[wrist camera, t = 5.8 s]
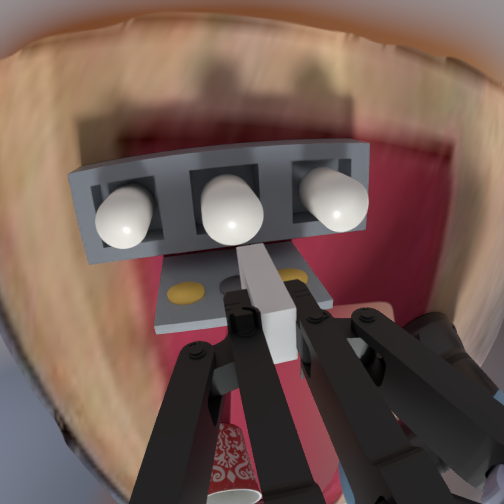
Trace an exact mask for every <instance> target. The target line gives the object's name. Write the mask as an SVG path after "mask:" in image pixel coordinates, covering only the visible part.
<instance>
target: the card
mask: <svg viewBox="0 0 504 504" xmlns="http://www.w3.org/2000/svg"><path fill="white" fill-rule="evenodd" d="M264 246H265V248H266V250H267V252H268V254H269V256H270V258H271V260H272V262H273V264H274V266H275V267H276V269H277V271H278V273H279V275H280V277H281V279H282V281H289V280H294V279H299V280H300V281H302V282H304V283H305V284H306V286H307V287H308V289H309V291H310V292H311V294H312V295H313V297H314V299H315V300H316V302H317V303H318V305H319V307H320V308H321V309H323V310H325V309H330V308H332V307H333V299H332V297H331V296H330V295H329V293H328V292H327V290H326V289H325V288H324V286H323V285H322V283H321V282H320V280H319V279H318V278H317V276H316V275H315V273H314V272H313V271H312V269H311V268H310V266H309V265H308V264H307V262H306V261H305V260H304V258H303V257H302V255H301V254H300V253H299V251H298V250H297V248H296V247H295V246H294V244H293V243H292V242H291V241H289V242H281V243H273V244H265V245H264ZM236 290H242V287H241V279H240V272H239V265H238V257H237V250H236V248H233V249H225V250H217V251H210V252H202V253H194V254H186V255H178V256H171V257H164V258H163V264H162V271H161V277H160V284H159V291H158V299H157V306H156V314H155V323H154V327H155V331H156V334H164V333H173V332H181V331H190V330H198V329H206V328H213V327H221V326H227V320H226V313H225V308H224V302H223V298H224V296H225V294H226V292H230V291H236Z"/></svg>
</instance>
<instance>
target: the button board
mask: <svg viewBox="0 0 504 504" xmlns="http://www.w3.org/2000/svg"><path fill="white" fill-rule="evenodd" d="M369 155H370V143H367V142H363V141H359V140H355V139H298V140H277V141H260V142H247V143H235V144H224V145H214V146H204V147H195V148H187V149H179V150H172V151H165V152H158V153H151V154H145V155H138V156H132V157H126V158H121V159H115V160H110V161H105V162H99V163H94V164H90V165H85V166H81V167H79V168H77V169H76V170H74V171H72V172H70V173H69V174H68V178H69V183H70V189H71V194H72V198H73V203H74V208H75V212H76V217H77V221H78V225H79V230H80V234H81V238H82V241H83V245H84V249H85V253H86V256H87V260H88V263H89V265H91V264H98V263H106V262H113V261H121V260H128V259H136V258H143V257H151V256H158V255H166V254H174V253H181V252H189V251H197V250H205V249H213V248H221V247H228V246H236V245H224V244H221V243H219V242H217V241H215V240H214V239H212V238H211V237H210V236H209V235H208V233H207V232H206V230H205V228H204V225H203V221H202V211H201V200H200V199H201V193H202V190H203V188H204V186H205V185H206V183H207V182H208V181H209V180H211V179H212V178H214V177H216V176H218V175H222V174H232V175H236V176H238V177H240V178H242V179H243V180H244V181H245V182H246V183H247V184H248V185H249V187H250V188H251V190H252V191H253V192H254V194H255V195H256V196H257V198H258V199H259V201H260V202H261V205H262V208H263V213H264V214H263V222H262V225H261V228H260V229H259V231H258V232H257V234H256V235H255V236H254V237H253V238H251V239H250V240H249V241H247V242H245V243H242V244H239V245H244V244H252V243H260V242H268V241H276V240H284V239H293V238H301V237H309V236H317V235H326V234H334V233H342V232H336V231H332V230H330V229H328V228H327V227H326V226H325V225H324V224H323V223H321V222H320V221H319V220H318V219H317V218H316V217H315V216H314V215H313V214H312V213H311V212H310V211H308V210H307V209H306V208H305V207H304V206H303V204H302V203H301V200H300V197H299V186H300V183H301V180H302V179H303V177H304V176H305V174H306V173H308V172H309V171H310V170H312V169H314V168H316V167H322V166H324V167H329V168H332V169H334V170H336V171H338V172H340V173H342V174H345V175H347V176H349V177H351V178H353V179H355V180H357V181H358V182H360V183H361V184H362V185H363V186H364V187H365V189H366V191H367V194H368V185H369ZM127 182H135V183H139V184H141V185H143V186H145V187H146V188H147V189H148V190H149V191H150V192H151V194H152V196H153V198H154V202H155V209H154V213H153V216H152V219H151V222H150V225H149V228H148V231H147V233H146V236H145V237H144V239H143V240H142V241H141V242H140V243H139V244H137V245H136V246H134V247H131V248H127V249H119V248H115V247H112V246H110V245H108V244H107V243H106V242H104V241H103V240H102V238H101V237H100V236H99V234H98V232H97V229H96V224H95V218H96V213H97V210H98V208H99V207H100V205H101V204H102V203H103V202H104V201H105V200H106V199H107V197H108V196H109V195H110V194H111V193H112V192H113V191H114V190H115V189H116V188H117V187H118V186H120V185H121V184H124V183H127ZM366 219H367V213H366V215H365V217H364V219H363V220H362V221H361V223H360V224H359V225H357V226H356V227H355V228H353V229H351V230H349V231H345V232H351V231H359V230H366Z"/></svg>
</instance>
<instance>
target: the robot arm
mask: <svg viewBox="0 0 504 504" xmlns="http://www.w3.org/2000/svg"><path fill="white" fill-rule="evenodd" d="M236 250H237V257H238V265H239V272H240V279H241V287H242V290H236V291H230V292H226V294H225V296H224V298H223V302H224V308H225V313H226V320H227V326H228V335H227V336H226V338H225V339H224V340H223V341H221V342H219V343H217V344H215V345H213V346H212V345H211V344H209V343H207V342H203V341H197V342H192V343H189V344H187V345H186V346H184V347H183V348H182V350H181V351H180V354H179V356H178V359H177V362H176V365H175V367H174V370H173V373H172V376H171V379H170V382H169V384H168V387H167V390H166V393H165V396H164V399H163V402H162V404H161V407H160V410H159V413H158V416H157V419H156V422H155V425H154V428H153V431H152V434H151V437H150V440H149V443H148V446H147V449H146V452H145V455H144V458H143V461H142V464H141V467H140V470H139V473H138V476H137V480H136V483H135V486H134V489H133V492H132V495H131V499H130V502H129V504H206V503H207V497H208V491H209V486H210V480H211V474H212V469H213V463H214V457H215V451H216V446H217V440H218V434H219V429H220V423H221V417H222V411H223V406H224V400H225V394H226V393H228V392H230V391H233V390H235V389H237V388H239V389H240V394H241V399H242V404H243V409H244V414H245V419H246V424H247V429H248V433H249V438H250V442H251V447H252V452H253V457H254V461H255V466H256V470H257V474H258V479H259V483H260V487H261V492H262V496H263V501H264V504H326V502H325V499H324V497H323V494H322V491H321V489H320V487H319V486H318V484H317V483H315V481H314V480H313V477H312V474H311V471H310V469H309V466H308V463H307V460H306V457H305V454H304V451H303V448H302V445H301V442H300V440H299V436H298V434H297V431H296V428H295V425H294V422H293V419H292V416H291V413H290V410H289V407H288V404H287V401H286V398H285V395H284V392H283V389H282V386H281V384H280V380H279V377H278V374H277V371H276V368H275V365H274V364H276V363H281V362H286V361H291V360H295V359H298V353H297V350H298V352H299V355H300V357H301V379H303V378H304V375H305V378H306V380H307V383H308V385H309V388H310V390H311V393H312V395H313V397H314V400H315V402H316V405H317V407H318V409H319V412H320V414H321V416H322V419H323V422H324V424H325V426H326V429H327V431H328V433H329V436H330V438H331V441H332V443H333V446H334V448H335V451H336V453H337V455H338V458H339V468H338V469H339V478H340V483H341V487H342V491H343V494H344V497H345V500H346V503H347V504H481V503H478V502H475V501H472V500H469V499H466V498H463V497H461V496H458V495H455V494H452V493H451V492H450V490H449V488H448V487H447V485H446V483H445V481H444V480H443V478H442V476H441V475H442V474H443V473H445V472H446V471H447V470H449V469H450V468H451V469H452V470H453V471H455V473H457V474H458V475H459V476H460V477H461V478H463V480H465V481H466V482H468V483H469V484H471V485H472V486H474V487H475V488H477V489H479V490H482V491H483V495H482V498H481V501H482V504H504V395H503V392H502V390H501V389H499V388H498V387H497V386H496V384H494V382H493V381H492V380H491V379H490V378H489V377H488V376H487V374H486V373H485V372H484V371H483V370H482V369H481V368H480V367H479V366H478V364H477V363H476V362H475V361H474V360H473V359H472V358H471V357H470V356H469V355H468V354H467V353H466V351H465V349H464V347H463V344H462V342H461V340H460V338H459V336H458V334H457V330H456V328H455V326H454V324H453V323H452V322H451V321H450V320H449V319H448V318H447V317H446V316H445V315H444V314H442V313H429V314H426V315H423V316H421V317H419V318H417V319H415V320H413V321H412V322H410V323H409V324H408V325H406V326H405V327H404V328H401V327H400V326H399V325H397V324H396V323H394V322H393V321H392V320H390V319H389V318H387V317H386V316H385V315H384V314H382V313H381V312H379V311H378V310H376V309H373V308H360V309H357V310H355V311H354V312H353V313H352V315H351V318H334V317H332V315H331V314H330V313H329V312H328V311H326V310H323V309H321V308H320V307H319V305H318V303H317V302H316V300H315V299H314V297H313V295H312V294H311V292H310V291H309V289H308V287H307V286H306V284H305V283H304V282H302V281H300V280H299V279H294V280H289V281H282V279H281V277H280V275H279V273H278V271H277V269H276V267H275V266H274V264H273V262H272V260H271V258H270V256H269V254H268V252H267V250H266V248H265V246H264V244H263V243H260V244H254V245H247V246H241V247H236ZM380 355H381V356H380ZM391 411H392V412H393V413H394V414H395V415H396V416H397V417H398V418H399V419H400V420H398V421H397V420H396V418H395V417H394V415H393V413H392V412H391Z"/></svg>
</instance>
